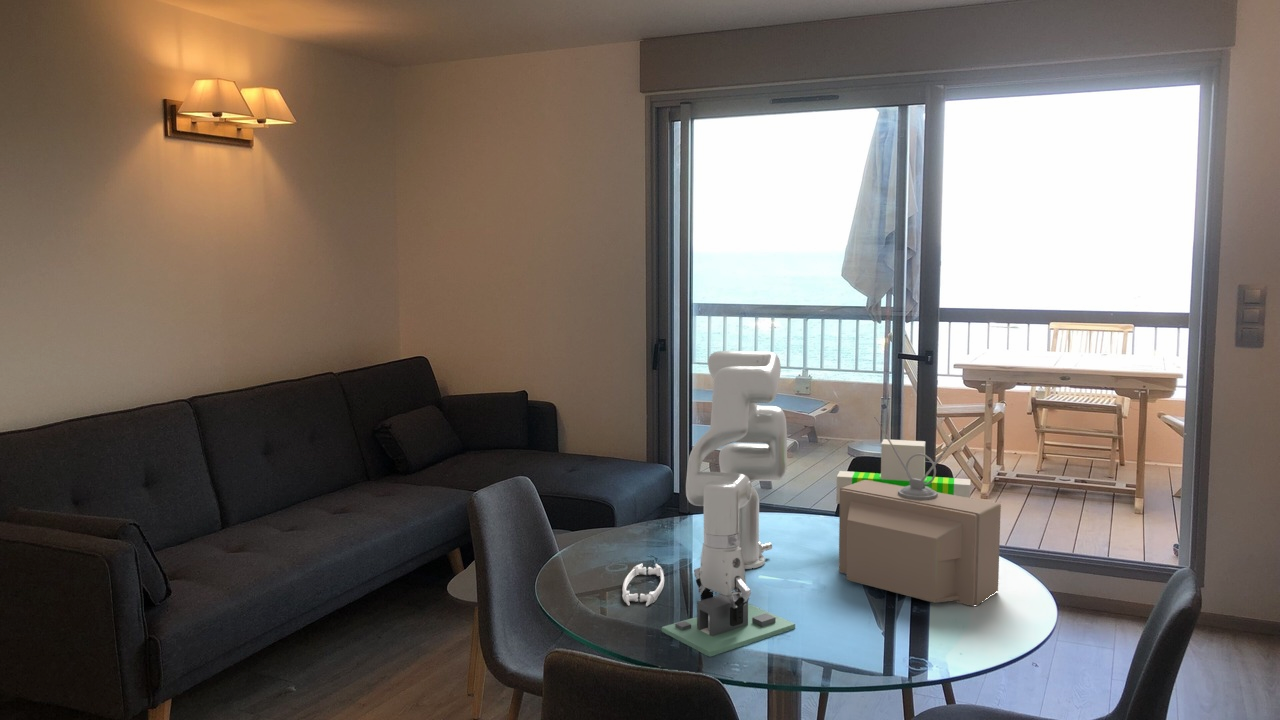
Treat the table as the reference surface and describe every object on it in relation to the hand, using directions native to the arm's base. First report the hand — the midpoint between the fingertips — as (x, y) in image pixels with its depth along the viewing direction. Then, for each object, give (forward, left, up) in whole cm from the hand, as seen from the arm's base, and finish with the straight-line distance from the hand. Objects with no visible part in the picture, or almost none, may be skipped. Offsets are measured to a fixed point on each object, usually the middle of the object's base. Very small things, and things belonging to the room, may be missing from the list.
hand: (721, 617), depth 199 cm
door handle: (-3, -32, -4) cm, 33 cm away
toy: (-74, -12, -3) cm, 75 cm away
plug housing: (0, 0, -2) cm, 2 cm away
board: (-2, 0, -3) cm, 4 cm away
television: (-55, +6, -4) cm, 56 cm away
